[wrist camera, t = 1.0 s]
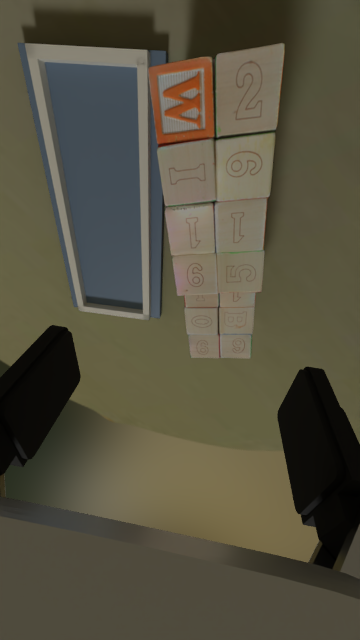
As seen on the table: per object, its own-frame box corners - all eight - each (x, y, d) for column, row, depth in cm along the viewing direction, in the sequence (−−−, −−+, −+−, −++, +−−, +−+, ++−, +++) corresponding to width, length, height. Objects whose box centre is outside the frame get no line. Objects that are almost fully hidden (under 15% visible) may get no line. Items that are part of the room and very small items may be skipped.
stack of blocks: (244, 309, 32) (253, 383, 22) (195, 310, 34) (184, 380, 24) (256, 88, 20) (289, 36, 10) (180, 100, 22) (144, 62, 12)
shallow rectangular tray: (168, 54, 20) (163, 46, 18) (161, 314, 34) (158, 322, 33) (25, 46, 21) (8, 38, 19) (77, 303, 35) (70, 310, 34)
